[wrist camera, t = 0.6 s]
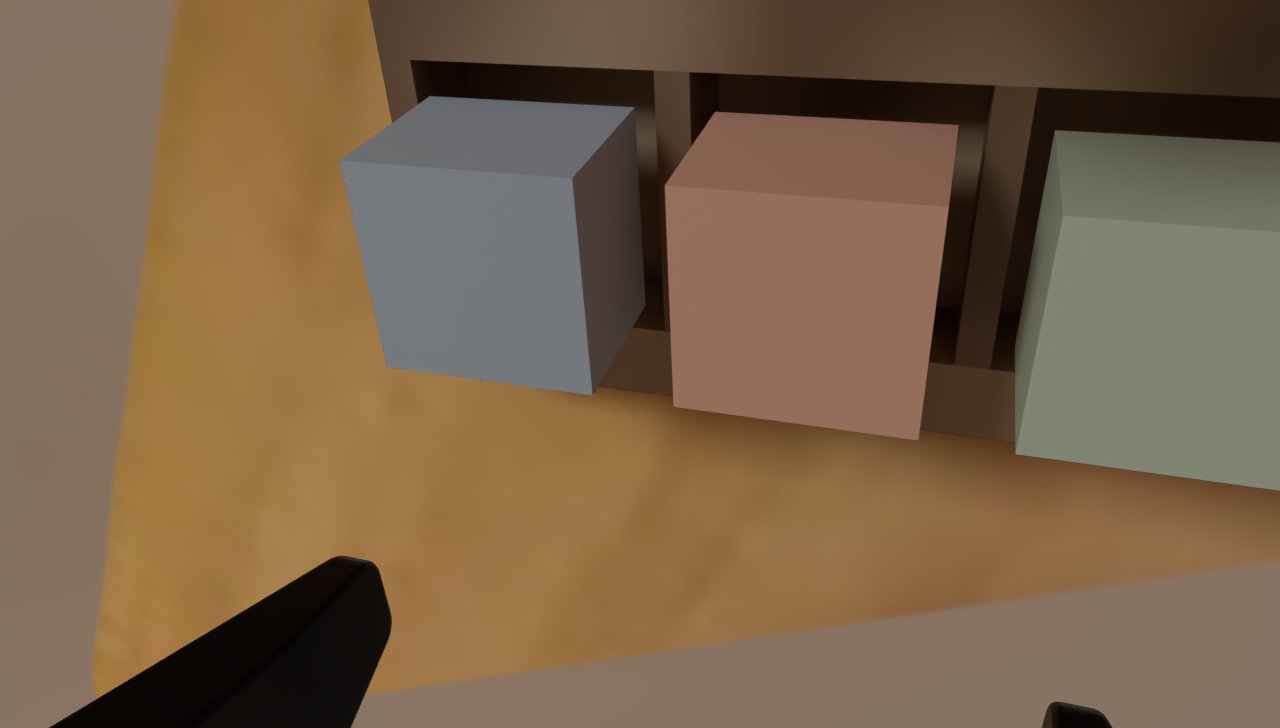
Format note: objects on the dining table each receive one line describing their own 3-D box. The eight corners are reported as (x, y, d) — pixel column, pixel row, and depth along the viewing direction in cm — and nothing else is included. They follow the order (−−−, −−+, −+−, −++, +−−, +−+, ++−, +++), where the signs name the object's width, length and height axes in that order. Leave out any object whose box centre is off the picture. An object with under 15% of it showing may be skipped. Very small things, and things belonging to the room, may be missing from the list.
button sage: (1347, 146, 14) (1419, 242, 11) (1266, 374, 16) (1311, 495, 14) (1055, 130, 15) (1063, 215, 12) (1014, 345, 17) (1015, 453, 15)
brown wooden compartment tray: (1423, -55, 14) (1488, -13, 12) (1261, 396, 19) (1290, 480, 17) (430, -62, 19) (362, -31, 17) (487, 306, 23) (438, 364, 21)
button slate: (634, 107, 17) (572, 178, 14) (645, 305, 19) (592, 395, 16) (429, 96, 18) (339, 160, 15) (461, 284, 20) (387, 366, 17)
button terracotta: (959, 125, 15) (948, 206, 13) (930, 336, 17) (918, 440, 15) (715, 111, 16) (664, 185, 14) (717, 312, 18) (673, 406, 16)
